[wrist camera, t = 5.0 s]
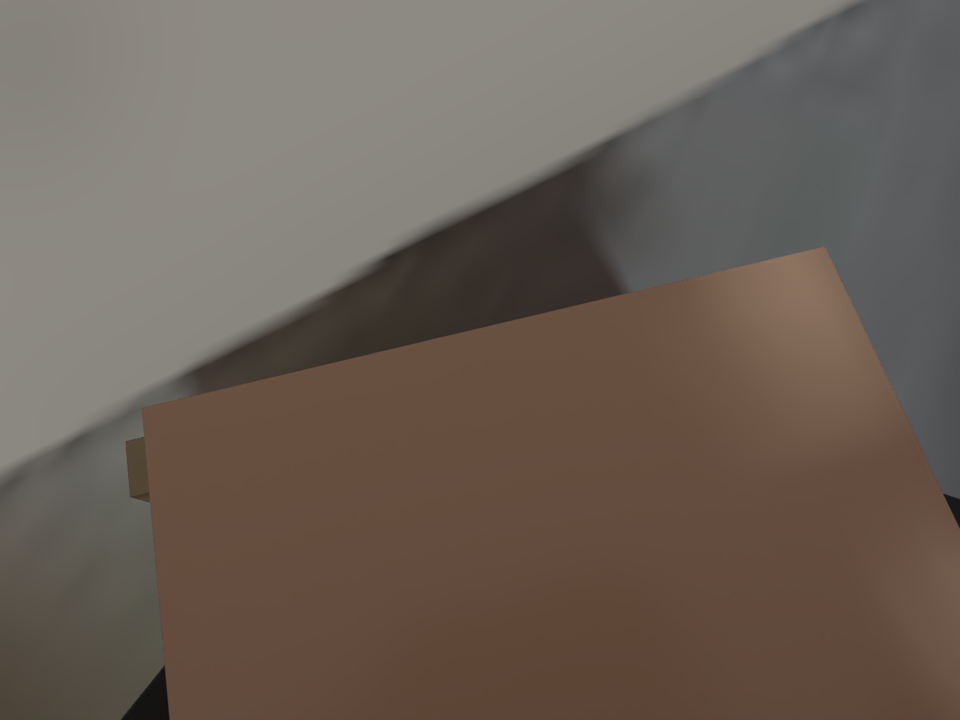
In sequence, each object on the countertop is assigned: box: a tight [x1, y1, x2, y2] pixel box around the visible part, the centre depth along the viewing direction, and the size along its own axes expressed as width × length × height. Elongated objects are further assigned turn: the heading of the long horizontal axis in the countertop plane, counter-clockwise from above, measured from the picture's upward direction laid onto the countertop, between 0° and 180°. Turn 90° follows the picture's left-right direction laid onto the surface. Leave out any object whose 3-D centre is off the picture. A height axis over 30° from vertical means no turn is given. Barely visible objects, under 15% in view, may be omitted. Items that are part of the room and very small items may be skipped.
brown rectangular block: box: [142, 247, 960, 720], centre depth 9 cm, size 5×5×10 cm
